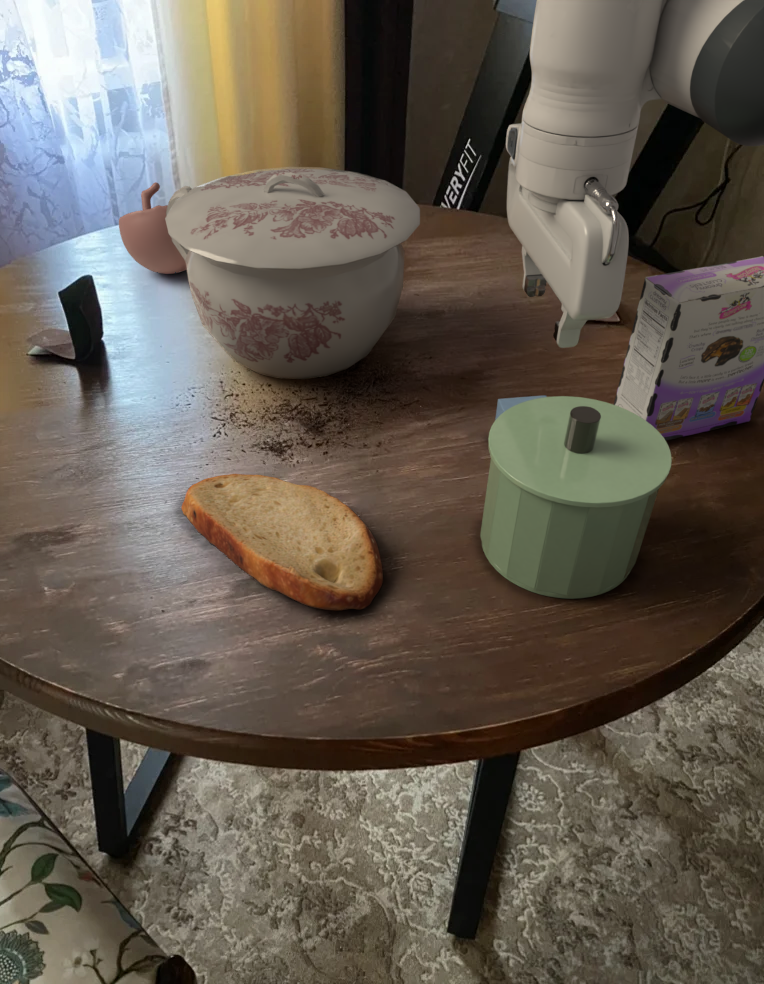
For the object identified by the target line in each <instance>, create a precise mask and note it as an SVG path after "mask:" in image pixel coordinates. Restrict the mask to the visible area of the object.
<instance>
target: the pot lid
mask: <svg viewBox="0 0 764 984" xmlns="http://www.w3.org/2000/svg"><path fill="white" fill-rule="evenodd" d="M487 448H488V453H489V456H490V459H491V458H492V460H493V462H494V464H495V465H496V467H497V468H498V469H499V470H500V472H501V473H502V474H503V475H504V476H505V477H506V478H508V479H509V480H510V481H512V482H513V483H514V484H516V485H517V486H519V487H521V488H522V489H524V490H526V491H528V492H530V493H532V494H534V495H536V496H539V497H541V498H544V499H547V500H550V501H554V502H557V503H561V504H566V505H571V506H579V507H593V508H600V507H614V506H621V505H625V504H630V503H633V502H636V501H639V500H641V499H644V498H645V497H647V496H649V495H651V494H652V493H654V492H655V491H657V490H658V489H659V490H660V488H661V487H662V486H663V485H664V484H665V482H666V481H667V479H668V477H669V474H670V472H671V469H672V463H673V459H672V452H671V449H670V446H669V444H668V442H667V440H666V441H665V439H664V437H663V436H662V435H661V434H660V433H659V431H658V430H657V429H655V428H654V427H653V426H652V425H651V424H650V423H648V422H647V421H646V420H644V419H643V418H641V417H639V416H638V415H636V414H634V413H632V412H630V411H628V410H626V409H624V408H621V407H619V406H616V405H614V403H609V402H607V401H602V400H599V399H598V400H597V399H595V398H588V397H583V396H582V397H581V396H573V395H572V396H571V395H569V396H568V395H566V396H565V395H557V396H554V395H553V396H547V397H543V398H537V399H532V400H529V401H525V402H522V403H520V404H517V405H515V406H513V407H511V408H509V409H508V410H506V411H505V412H503V413H502V414H501V415H500V416H499V417H498V418H497V419H496V420H495V419H494V422H493V423H492V425H491V426H490V430H489V431H488V439H487ZM659 490H658V491H659Z"/></svg>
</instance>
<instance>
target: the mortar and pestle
mask: <svg viewBox="0 0 764 984" xmlns="http://www.w3.org/2000/svg"><path fill="white" fill-rule="evenodd" d="M160 189H161V185H160V184H159V183H158V182H153V183H152V184H151V185H150V187H148V188H147V189H144V190H142V191H141V193H140V199H141V209H142V210H141V209H140V210H135V211H132V212H128V213H125V214H124V215H122V216H120V217H119V219H118V229H119V230H118V231H119V235H120V238H121V241H122V243H123V246H124V248H125V250H126V251H127V253H128V254H129V255H130V256H131V258H132V259H133V260H134V261H135V262H137V264H139V266H142V267H143V268H145V269H146V270H149V271H150V272H154V273H157V272H158V273H157V274H164V275H165V274H166V275H170V274H171V275H172V274H178V273H181V272H184V271H187V269H186V263H185V260H184V258H183V257H182V255H181V254H180V252H179V251H178V249H177V248H176V246H175V245H174V243H173V242H172V239H171V236H170V235H169V233H168V229H167V224H166V220H165V218H166V211H167V207H168V204H166V205H160V204H159V205H155V206H153V207H152V204H151V203H152V202H151V200H152V198H153V196H154V195H155V194H156V193H158V192H159V191H160ZM175 272H176V273H175Z"/></svg>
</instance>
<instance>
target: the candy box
mask: <svg viewBox="0 0 764 984" xmlns="http://www.w3.org/2000/svg"><path fill="white" fill-rule="evenodd" d="M632 326H633V327H632V329H631V334H630V338H629V342H628V346H627V349H626V354H625V356H624V361H623V366H622V371H621V374H620V378H619V382H618V387H617V390H616V394H615V398H614V401H613V405H616V406H619V407H621V408H624V409H626V410H628V411H630V412H632V413H634V414H636V415H638V416H639V417H641V418H643V419H644V420H646V421H647V422H648V423H650V424H651V425H652V426H653V427H654V428H655V429H657V430H658V431H659V433H660V434H661V435H662V436H663V437H664V439H665V441H666V442H667V441H671V440H675V439H679V438H684V437H688V436H692V435H697V434H701V433H705V432H709V431H715V430H718V429H721V428H722V429H723V428H726V427H732V426H736V425H739V424H743V423H748V422H750V421H751V419H752V416H753V413H754V410H755V408H756V406H757V405H756V404H757V402H758V399H759V397H760V395H761V391H762V388H763V385H764V256H763V255H761V256H757V257H752V258H751V257H750V258H747V259H746V258H745V259H742V260H741V259H740V260H736V261H731V262H725V263H724V262H723V263H720V264H713V265H708V266H702V267H696V268H690V269H684V270H680V271H674V272H668V273H662V274H655V275H649V276H645V277H644V281H643V285H642V289H641V293H640V297H639V301H638V305H637V309H636V314H635V318H634V321H633V325H632Z"/></svg>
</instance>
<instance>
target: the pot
mask: <svg viewBox="0 0 764 984" xmlns="http://www.w3.org/2000/svg"><path fill="white" fill-rule="evenodd" d="M659 490H660V488H659V489H658V490H657V491H655V492H654V493H652V494H651V495H649V496H647V497H645V498H644V499H641V500H639V501H636V502H633V503H630V504H625V505H621V506H614V507H600V508H593V507H579V506H571V505H566V504H561V503H557V502H554V501H550V500H547V499H544V498H541V497H539V496H536V495H534V494H532V493H530V492H528V491H526V490H524V489H522V488H521V487H519V486H517V485H516V484H514V483H513V482H512V481H510V480H509V479H508V478H506V477H505V476H504V475H503V474H502V473H501V472H500V470H499V469H498V468H497V467H496V465H495V464H494V462H493V460H492V458H491V457H490V462H489V469H488V477H487V484H486V491H485V499H484V505H483V513H482V519H481V520H482V521H481V528H480V534H479V537H480V541H481V542H480V544H481V548H482V551H483V552H484V556H485V557H486V559H487V560H488V562H489V564H490V565H491V566H492V567H493V568H494V570H495V571H496V572H497V573H499V574H500V575H501V577H503V578H504V579H506V580H507V581H509V582H510V583H512V584H514V585H516V586H518V587H520V588H521V589H524V590H526V591H529V592H531V593H534V594H537V595H539V596H540V595H541V596H545V597H549V598H550V597H551V598H556V599H569V600H570V599H571V600H574V599H585V598H586V599H587V598H592V597H595V596H599V595H603V594H606V593H607V592H610V591H612V590H614V589H615V588H617V587H618V586H619V585H621V584H622V583H623V582H624V581H625V580H626V579H627V578H628V577H629V575H630V573H631V572H632V570H633V568H634V566H635V564H636V562H637V560H638V557H639V553H640V550H641V547H642V543H643V540H644V537H645V534H646V531H647V528H648V525H649V522H650V518H651V515H652V512H653V509H654V505H655V502H656V500H657V496H658V494H659Z"/></svg>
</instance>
